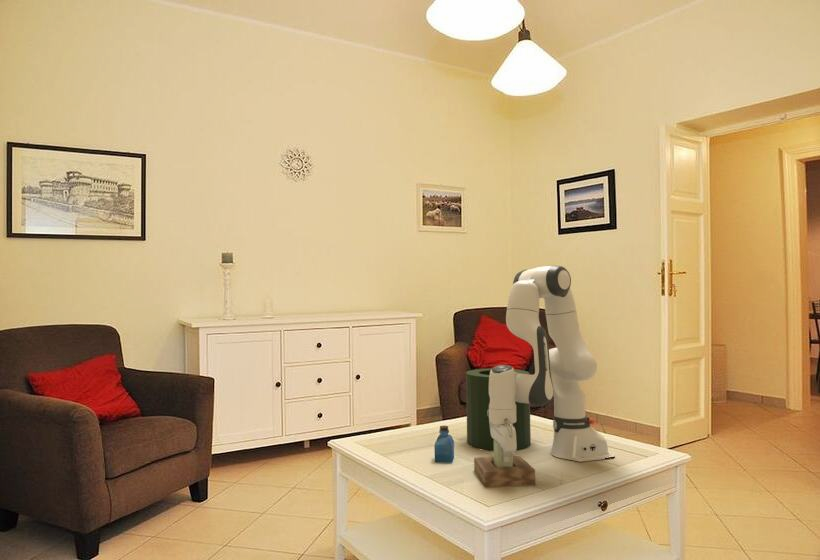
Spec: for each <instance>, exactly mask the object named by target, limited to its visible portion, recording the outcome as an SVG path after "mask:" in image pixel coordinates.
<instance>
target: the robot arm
mask: <svg viewBox="0 0 820 560" xmlns="http://www.w3.org/2000/svg"><path fill="white" fill-rule="evenodd" d="M571 285H572V277H571V274H570V272H569V271H568V270H567V268H566V267H564V266H561V265H550V266H547V265H546V266H538V267H534V268H531V269H530V268H529V269H523V270H521V271H519V272H517V273H516V274H515V276H514V279H513V282H512V286H511V288H510V291H509V296H508V299H507V305H506V306H507V307H506V313H505V314H506V315H505V323H506V324H505V325H506V328H507V329H508V330H509V332H510V333H511V334H512V335H514V336H515V337H517V338H520V339H521V340H524V341H525V342H527V343H528V344H529V345H530V346H531V347H532V349H533V359H534V360H533V361H534V362H533V363H534V374H530V373H529V374H521V373H517V372H514V369H515V368H514V367H513V366H511V365H508V364H500V365H496V366H494V367H492V368H490V369H491V371H490V375H489V396H490V403H489V410H488V411H487V415H488V417H489V424H490V433H491V437H492V438H493V439H494V440H496V441H497V442H498V443H499V444H500V447H501V448H502V449H503V461H504V462H509V456H510V452H513V453H516V452H517V451H516V449H517V442H516V431H515V428H514V427H513V423H515V422H516V404H515V402H519V403H527V404H530V406H536V407H540V408H543V407H544V406H546V405H547V404H548V403H550V402H551V401H552V400H553V409H554V411H553V413H554V414H553V417H552V418H553V420H552V428H553V431H554V432H553V441H552V446H551V450H550V454H551V455H552V456H553V457H555V458H559V459H563V460H570V461H575V462H579V463H580V462H589V461H600V460H606V459H605V458H607V457H609V456H611V455H610V454H609V452H608V449H609V448H608V442H607V440H606V438H605V437H604V436H603V435H602V434H601V433H599V432H598V431H597V430H596V429H594V428H593V427H592V426H593V425H595V424H596V419H594V418H592V417H591V418H590V417H588V416H586V396H585V394H584V391H583V390H582V389H581V386H580V383H579V382H581V381H582V382H584V381H587V380H590V379H592V378H593V377H595V375H596V373H597V369H598V364H597V360H596V359H595V357H594V356H593V355H592V354H591V352H590V351H589V350H588V347H587V345H586V344H585V343H586V342H585V341H584V339H583V336H582V334H581V330H580V324H579V321H578V313H577V307H576V303H575V299H574V295H573V293H572V292H573V291H572V289H571ZM542 298H543V300H544V312H545V318H546V323H547V324H546V325H547V326H546V327H547V331H548V333H547V331H546V328H544V327H543V326H541V322H540V317H539V316H540V315H539V314H540V299H542ZM548 335H549V337H550V338H551V339H552V341H553V343H554V344H555V346H556V347H553V348H549V340H548ZM591 425H592V426H591Z"/></svg>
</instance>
